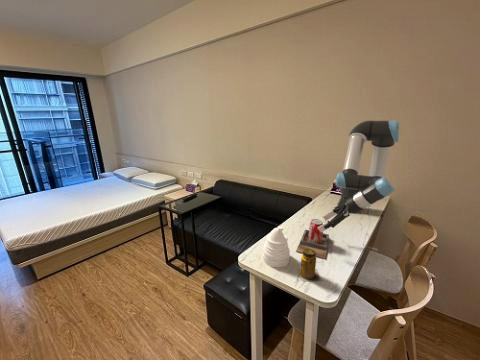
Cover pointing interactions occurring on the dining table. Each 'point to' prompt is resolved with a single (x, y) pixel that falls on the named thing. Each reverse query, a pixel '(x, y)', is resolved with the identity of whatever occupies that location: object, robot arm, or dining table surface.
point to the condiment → (309, 266)
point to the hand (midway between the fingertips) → (321, 224)
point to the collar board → (314, 245)
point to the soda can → (315, 231)
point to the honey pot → (276, 249)
